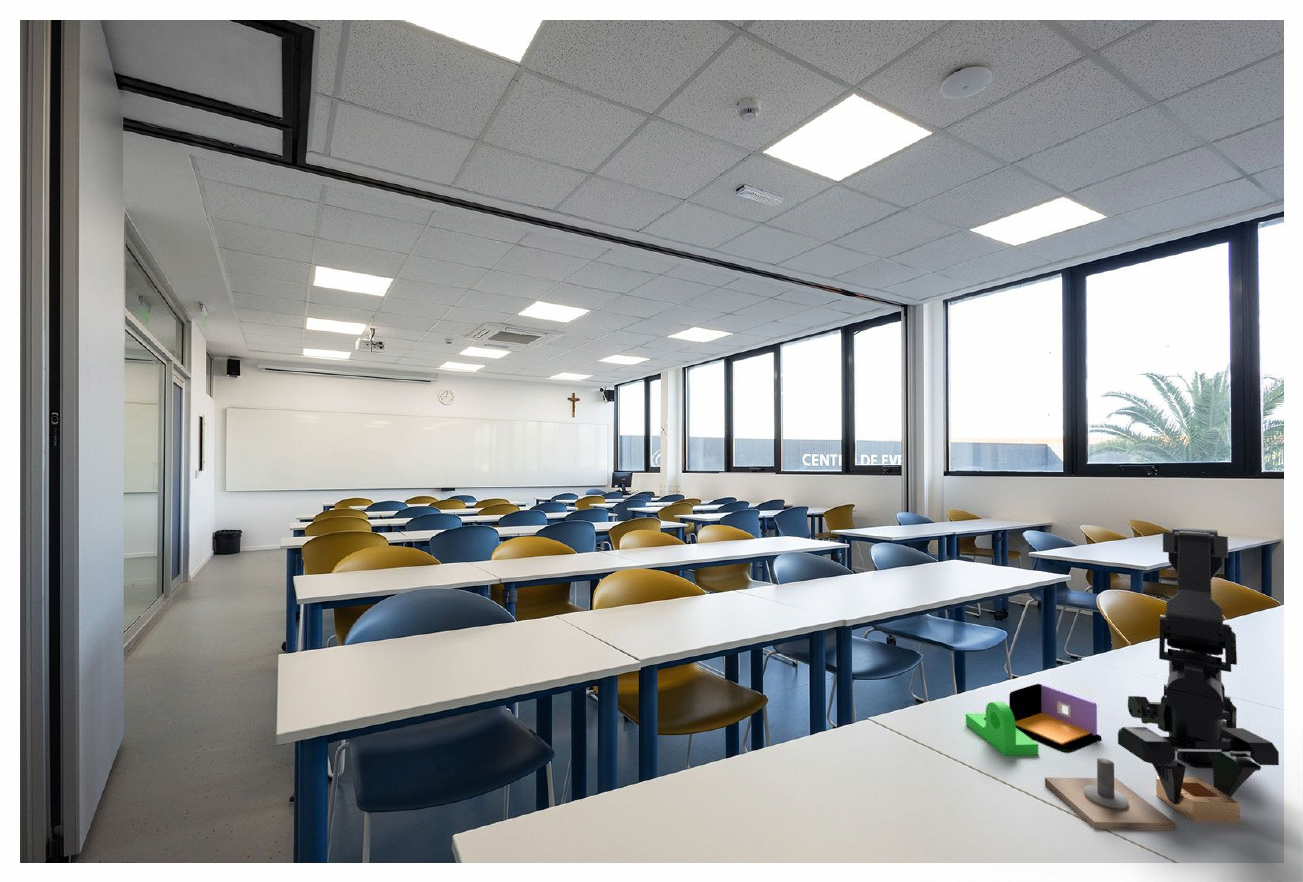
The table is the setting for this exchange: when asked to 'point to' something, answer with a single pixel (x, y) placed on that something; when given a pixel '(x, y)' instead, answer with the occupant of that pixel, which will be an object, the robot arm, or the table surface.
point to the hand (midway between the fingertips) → (1196, 802)
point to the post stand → (1108, 801)
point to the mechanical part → (1001, 730)
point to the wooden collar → (1202, 802)
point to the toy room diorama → (1054, 717)
